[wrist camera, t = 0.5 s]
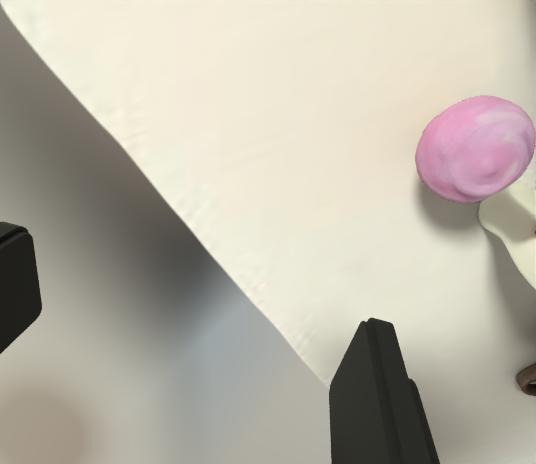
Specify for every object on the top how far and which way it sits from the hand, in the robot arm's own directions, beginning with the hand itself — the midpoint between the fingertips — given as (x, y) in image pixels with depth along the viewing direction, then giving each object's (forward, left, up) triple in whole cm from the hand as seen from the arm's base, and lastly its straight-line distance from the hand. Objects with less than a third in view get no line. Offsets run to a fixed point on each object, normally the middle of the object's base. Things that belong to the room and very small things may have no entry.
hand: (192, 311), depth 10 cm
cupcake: (-4, +16, -30) cm, 35 cm away
